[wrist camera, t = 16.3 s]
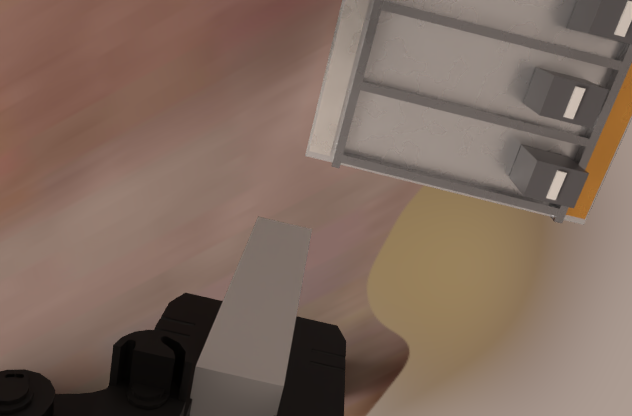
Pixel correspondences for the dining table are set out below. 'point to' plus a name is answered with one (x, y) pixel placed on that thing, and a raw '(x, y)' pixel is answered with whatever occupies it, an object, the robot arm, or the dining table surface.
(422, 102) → the panel
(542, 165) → the breaker
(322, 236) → the dining table surface
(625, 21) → the breaker
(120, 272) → the dining table surface
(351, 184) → the dining table surface
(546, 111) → the breaker mid
